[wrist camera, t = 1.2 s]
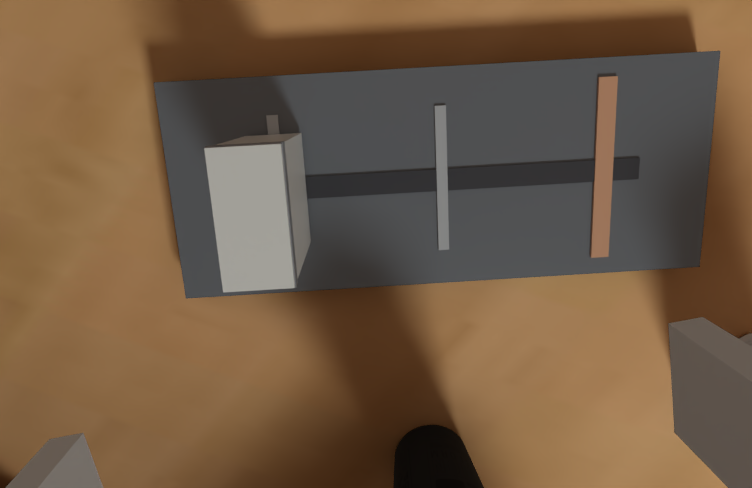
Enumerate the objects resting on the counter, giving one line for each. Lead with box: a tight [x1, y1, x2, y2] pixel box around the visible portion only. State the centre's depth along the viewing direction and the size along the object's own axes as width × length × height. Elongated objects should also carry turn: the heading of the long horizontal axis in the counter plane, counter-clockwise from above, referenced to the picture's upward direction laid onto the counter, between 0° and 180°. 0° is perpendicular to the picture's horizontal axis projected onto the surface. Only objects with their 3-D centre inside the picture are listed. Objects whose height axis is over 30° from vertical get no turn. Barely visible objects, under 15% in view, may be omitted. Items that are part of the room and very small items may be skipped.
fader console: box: [154, 51, 720, 298], centre depth 31 cm, size 30×12×2 cm, turn 93°
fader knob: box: [204, 133, 311, 293], centre depth 26 cm, size 3×6×8 cm, turn 3°
